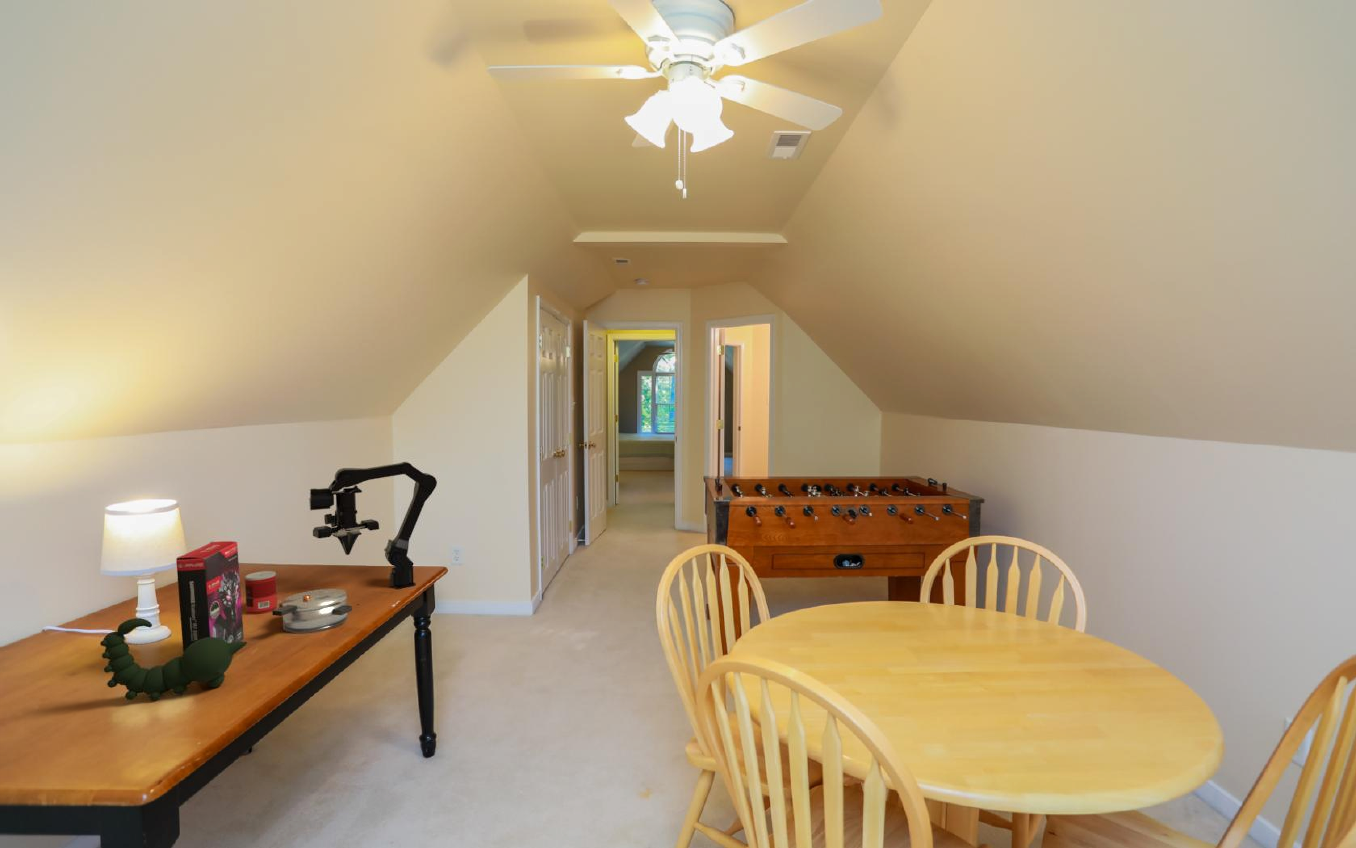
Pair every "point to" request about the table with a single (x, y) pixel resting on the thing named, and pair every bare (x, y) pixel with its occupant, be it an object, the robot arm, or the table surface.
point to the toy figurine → (195, 664)
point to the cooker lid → (311, 601)
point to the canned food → (261, 592)
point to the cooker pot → (316, 619)
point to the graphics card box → (210, 593)
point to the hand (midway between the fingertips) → (347, 554)
